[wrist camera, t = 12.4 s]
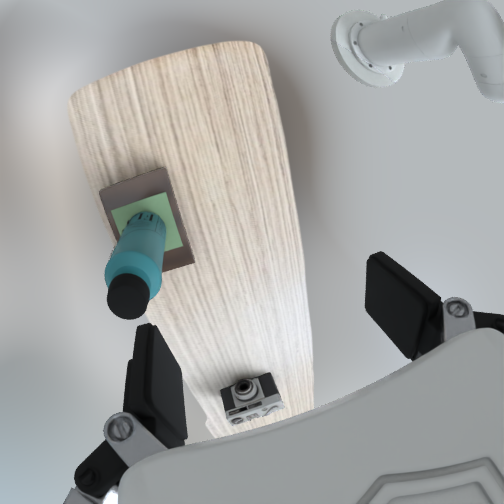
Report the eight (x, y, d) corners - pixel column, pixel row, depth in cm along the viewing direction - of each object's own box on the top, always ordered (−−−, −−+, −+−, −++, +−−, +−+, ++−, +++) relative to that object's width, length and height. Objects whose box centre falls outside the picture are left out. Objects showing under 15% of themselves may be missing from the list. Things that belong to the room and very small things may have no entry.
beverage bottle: (161, 201, 39) (145, 262, 21) (173, 241, 42) (171, 323, 24) (121, 214, 38) (80, 281, 20) (135, 252, 41) (111, 337, 23)
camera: (267, 363, 64) (279, 394, 55) (274, 380, 68) (286, 409, 59) (214, 382, 62) (220, 414, 54) (225, 398, 66) (232, 428, 57)
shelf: (104, 186, 39) (97, 191, 36) (167, 164, 40) (165, 167, 37) (136, 271, 46) (133, 281, 43) (194, 253, 48) (195, 263, 44)
